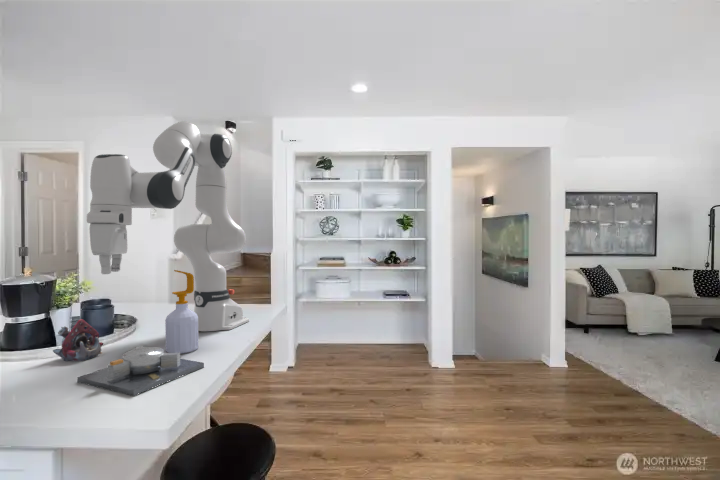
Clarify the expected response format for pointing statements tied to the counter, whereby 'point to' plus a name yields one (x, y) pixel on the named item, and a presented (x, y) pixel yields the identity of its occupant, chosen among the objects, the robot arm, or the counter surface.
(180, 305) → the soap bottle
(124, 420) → the counter surface
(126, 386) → the base plate
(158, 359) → the grey disc housing
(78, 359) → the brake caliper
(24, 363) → the counter surface
